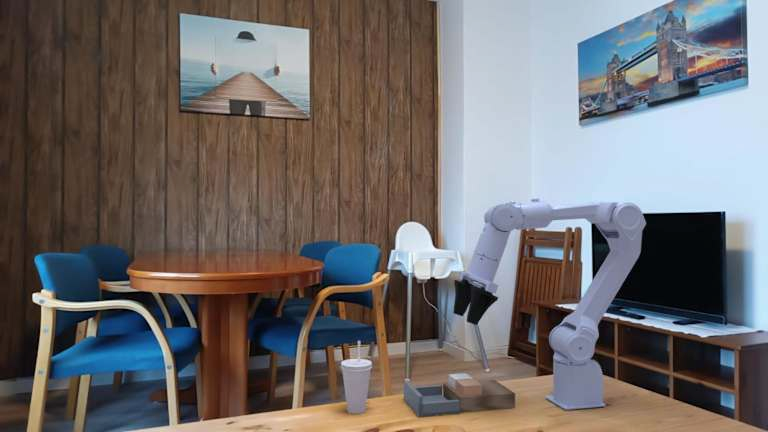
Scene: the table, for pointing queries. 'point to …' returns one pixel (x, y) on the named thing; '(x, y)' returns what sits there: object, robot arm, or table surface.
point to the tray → (429, 400)
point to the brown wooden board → (482, 397)
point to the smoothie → (356, 382)
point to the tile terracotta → (468, 387)
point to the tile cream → (457, 378)
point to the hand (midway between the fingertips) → (464, 318)
